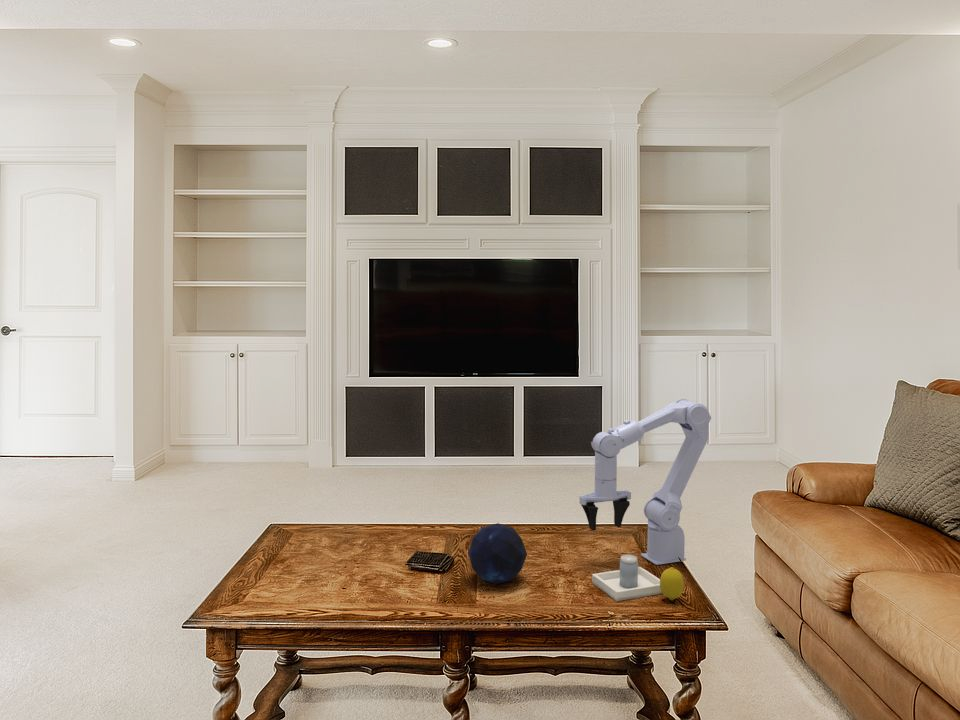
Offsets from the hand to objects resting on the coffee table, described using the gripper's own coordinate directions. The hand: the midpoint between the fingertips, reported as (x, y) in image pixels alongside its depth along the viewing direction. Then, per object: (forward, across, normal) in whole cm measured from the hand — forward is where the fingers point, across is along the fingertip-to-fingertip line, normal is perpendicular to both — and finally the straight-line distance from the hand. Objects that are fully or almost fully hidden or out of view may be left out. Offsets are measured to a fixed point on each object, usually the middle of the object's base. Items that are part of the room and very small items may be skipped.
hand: (605, 528), depth 198 cm
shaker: (+9, +3, +16) cm, 19 cm away
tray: (+10, +3, +16) cm, 19 cm away
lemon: (+10, -3, +26) cm, 28 cm away
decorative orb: (+10, +31, 0) cm, 33 cm away
